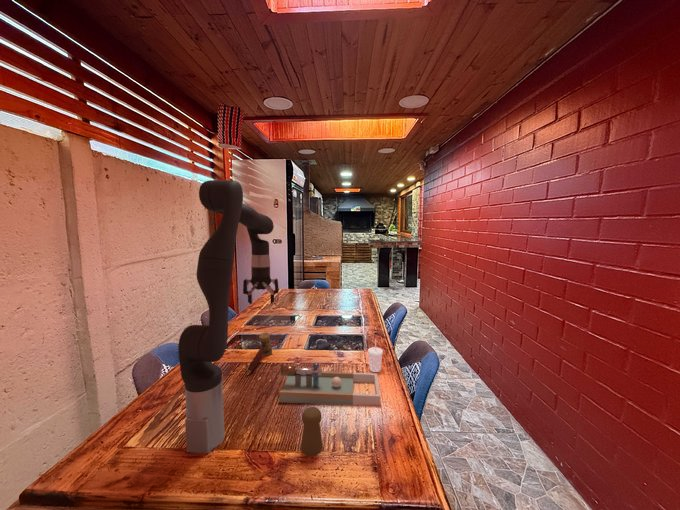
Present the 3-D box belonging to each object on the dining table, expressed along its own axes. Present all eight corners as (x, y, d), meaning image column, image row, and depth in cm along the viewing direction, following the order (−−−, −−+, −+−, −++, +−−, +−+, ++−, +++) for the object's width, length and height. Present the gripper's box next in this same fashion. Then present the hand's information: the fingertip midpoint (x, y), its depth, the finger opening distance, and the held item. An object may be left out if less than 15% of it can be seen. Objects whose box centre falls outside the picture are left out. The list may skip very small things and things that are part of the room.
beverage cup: (365, 368, 116) (365, 336, 114) (378, 366, 118) (378, 334, 117) (371, 376, 110) (372, 342, 109) (385, 373, 112) (386, 340, 111)
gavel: (254, 385, 110) (250, 365, 107) (244, 384, 111) (239, 364, 107) (273, 350, 130) (270, 332, 126) (264, 349, 130) (261, 332, 127)
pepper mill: (311, 436, 79) (311, 400, 78) (327, 447, 75) (327, 409, 74) (296, 449, 74) (295, 411, 73) (311, 461, 70) (311, 422, 69)
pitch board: (379, 407, 91) (380, 389, 91) (279, 403, 93) (279, 384, 93) (376, 383, 105) (377, 367, 105) (289, 379, 107) (289, 363, 106)
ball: (341, 389, 97) (341, 380, 97) (331, 389, 97) (331, 380, 97) (341, 384, 101) (341, 375, 100) (332, 383, 101) (332, 374, 100)
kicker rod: (321, 387, 97) (321, 365, 97) (280, 386, 98) (280, 364, 97) (322, 382, 101) (322, 360, 100) (283, 380, 102) (283, 359, 101)
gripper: (241, 266, 109) (241, 306, 111) (277, 266, 111) (277, 305, 113) (244, 264, 117) (245, 301, 118) (278, 264, 119) (279, 300, 120)
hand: (261, 303), depth 116 cm, fingers open, 8 cm apart
